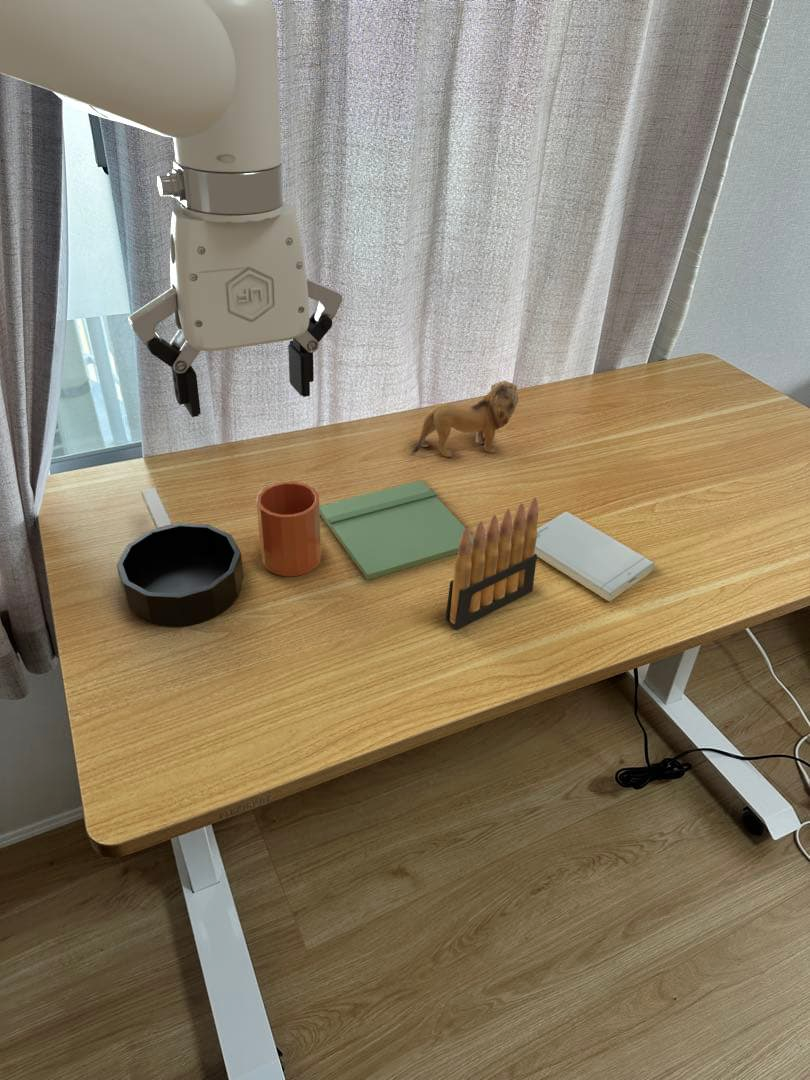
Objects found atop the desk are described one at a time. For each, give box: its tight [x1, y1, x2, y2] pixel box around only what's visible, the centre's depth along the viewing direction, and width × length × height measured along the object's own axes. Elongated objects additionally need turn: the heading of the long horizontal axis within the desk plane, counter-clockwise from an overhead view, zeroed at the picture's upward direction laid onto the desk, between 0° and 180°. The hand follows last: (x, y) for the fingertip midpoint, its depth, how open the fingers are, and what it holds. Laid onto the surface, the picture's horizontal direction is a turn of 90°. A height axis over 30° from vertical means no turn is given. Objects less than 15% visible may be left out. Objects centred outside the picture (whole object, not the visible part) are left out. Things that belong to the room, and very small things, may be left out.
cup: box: [256, 481, 322, 577], centre depth 87 cm, size 6×6×8 cm
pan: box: [116, 486, 245, 628], centre depth 87 cm, size 12×20×4 cm, turn 27°
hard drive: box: [534, 511, 656, 602], centre depth 91 cm, size 2×8×12 cm
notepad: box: [320, 479, 474, 581], centre depth 94 cm, size 14×14×1 cm
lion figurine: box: [411, 380, 519, 458], centre depth 107 cm, size 15×5×9 cm, turn 110°
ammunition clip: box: [444, 497, 539, 630], centre depth 81 cm, size 11×2×12 cm, turn 127°
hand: (247, 399), depth 69 cm, fingers open, 9 cm apart
